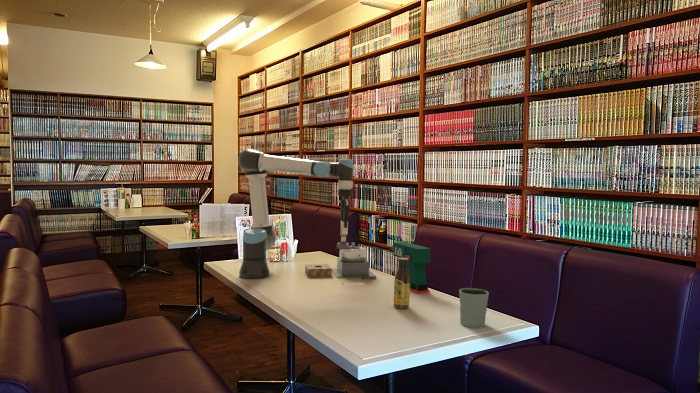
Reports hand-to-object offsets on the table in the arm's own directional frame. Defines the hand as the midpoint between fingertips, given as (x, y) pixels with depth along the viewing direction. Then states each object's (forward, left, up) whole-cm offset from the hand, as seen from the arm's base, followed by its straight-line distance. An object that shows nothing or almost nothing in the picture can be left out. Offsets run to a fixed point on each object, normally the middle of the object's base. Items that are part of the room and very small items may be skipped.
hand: (344, 233), depth 252 cm
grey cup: (+30, -88, -22) cm, 96 cm away
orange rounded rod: (-1, -1, -6) cm, 6 cm away
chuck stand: (+4, -3, -22) cm, 22 cm away
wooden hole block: (-14, -3, -22) cm, 26 cm away
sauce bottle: (+11, -64, -22) cm, 69 cm away
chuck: (+4, -3, -13) cm, 14 cm away
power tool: (+24, -28, -22) cm, 43 cm away
